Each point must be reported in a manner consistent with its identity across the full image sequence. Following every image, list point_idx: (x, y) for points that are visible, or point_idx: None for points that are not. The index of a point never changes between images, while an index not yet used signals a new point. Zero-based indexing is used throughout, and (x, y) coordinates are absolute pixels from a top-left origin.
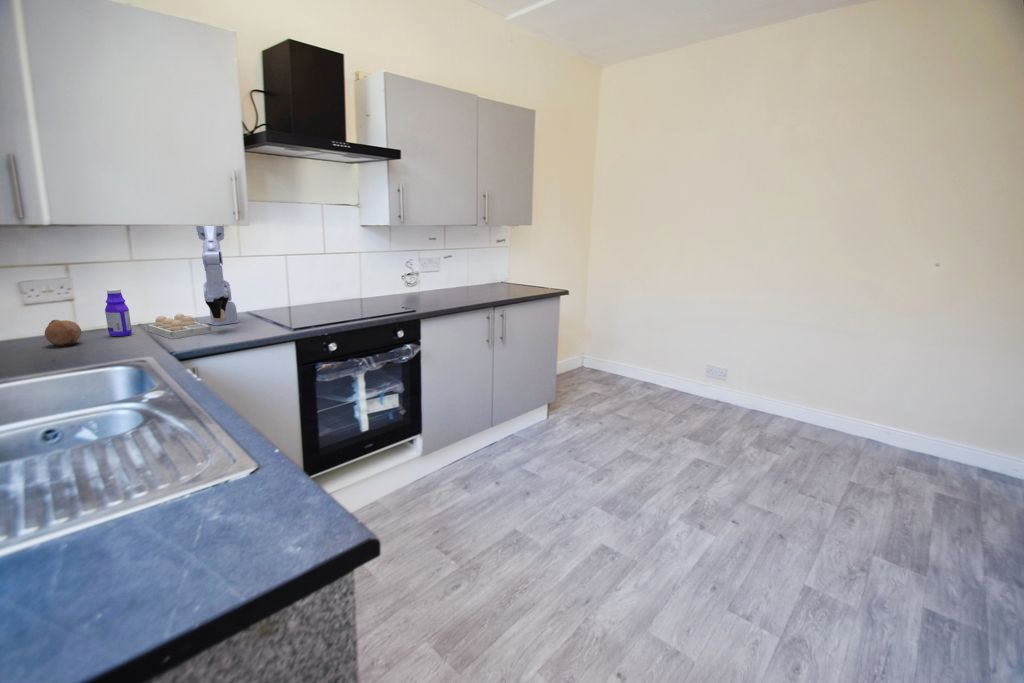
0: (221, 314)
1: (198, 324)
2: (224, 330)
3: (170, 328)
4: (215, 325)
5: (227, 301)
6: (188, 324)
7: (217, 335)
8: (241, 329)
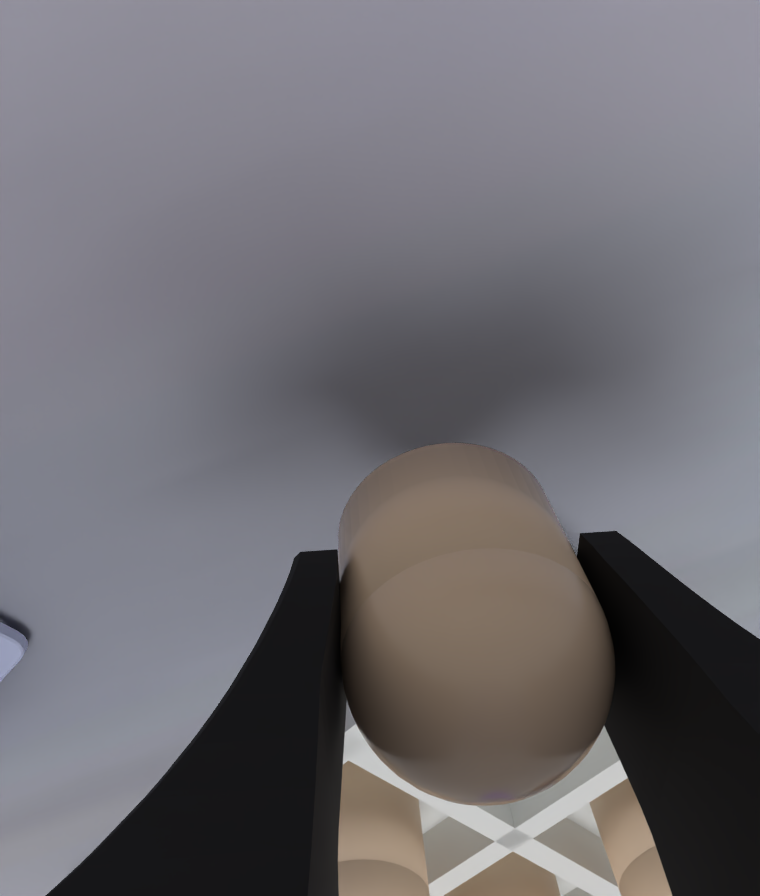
0: (571, 565)
1: (377, 760)
2: (344, 409)
3: (607, 888)
4: (24, 648)
5: (126, 853)
6: (417, 838)
7: (728, 362)
8: (252, 142)
